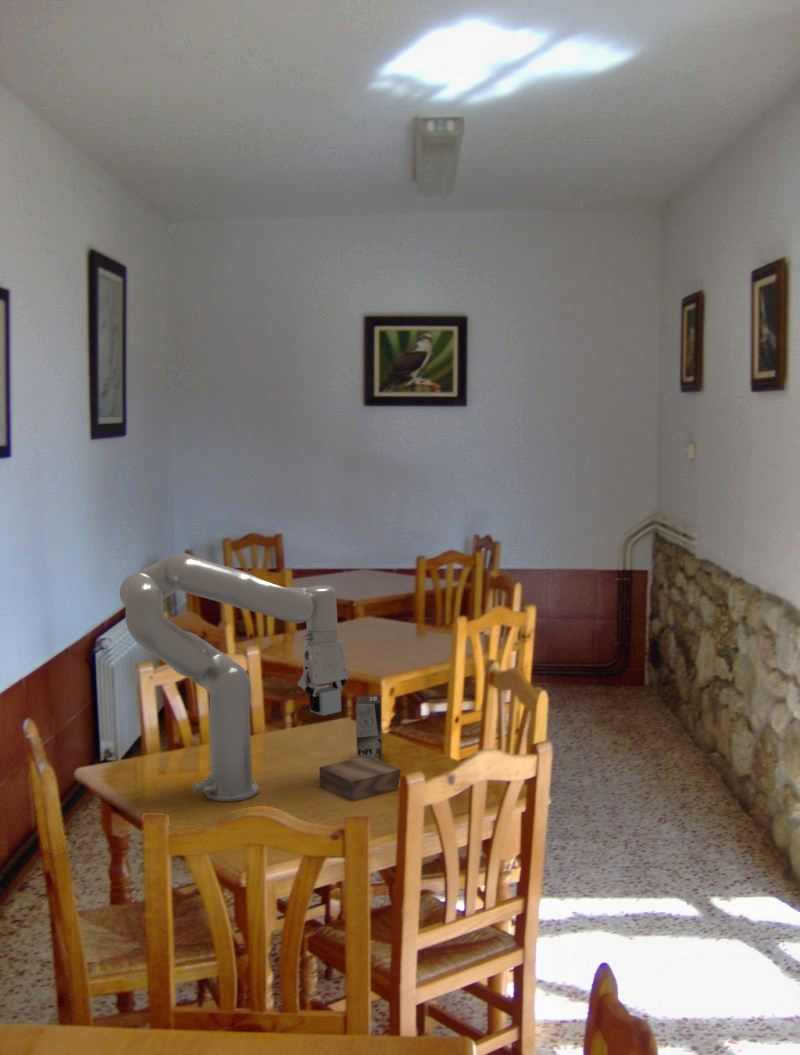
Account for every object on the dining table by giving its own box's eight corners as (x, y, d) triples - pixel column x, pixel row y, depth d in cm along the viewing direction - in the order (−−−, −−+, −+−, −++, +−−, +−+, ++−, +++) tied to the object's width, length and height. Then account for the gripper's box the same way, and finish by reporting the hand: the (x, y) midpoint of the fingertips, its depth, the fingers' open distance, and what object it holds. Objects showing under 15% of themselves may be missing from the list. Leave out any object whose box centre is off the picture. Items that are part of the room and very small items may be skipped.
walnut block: (352, 802, 247) (351, 781, 247) (320, 787, 258) (319, 767, 258) (400, 789, 255) (400, 769, 255) (367, 775, 267) (367, 755, 266)
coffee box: (381, 764, 273) (380, 703, 272) (356, 765, 274) (355, 703, 272) (383, 753, 282) (381, 694, 281) (358, 754, 283) (357, 694, 281)
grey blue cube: (322, 715, 258) (321, 693, 258) (310, 711, 263) (309, 689, 262) (341, 711, 262) (340, 689, 261) (328, 706, 266) (327, 685, 266)
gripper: (301, 644, 252) (305, 718, 254) (359, 633, 263) (362, 704, 264) (284, 639, 258) (288, 712, 260) (342, 629, 269) (345, 699, 270)
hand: (325, 708), depth 262 cm, fingers closed on grey blue cube, 5 cm apart
